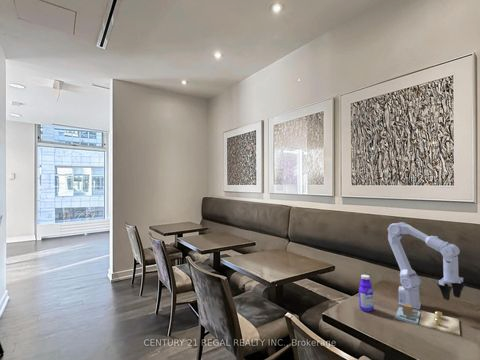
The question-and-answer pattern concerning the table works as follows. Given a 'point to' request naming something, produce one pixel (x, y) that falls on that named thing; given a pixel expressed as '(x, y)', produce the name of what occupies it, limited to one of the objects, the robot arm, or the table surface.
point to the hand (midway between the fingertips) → (451, 298)
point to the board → (446, 325)
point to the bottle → (366, 294)
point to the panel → (404, 318)
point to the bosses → (438, 317)
